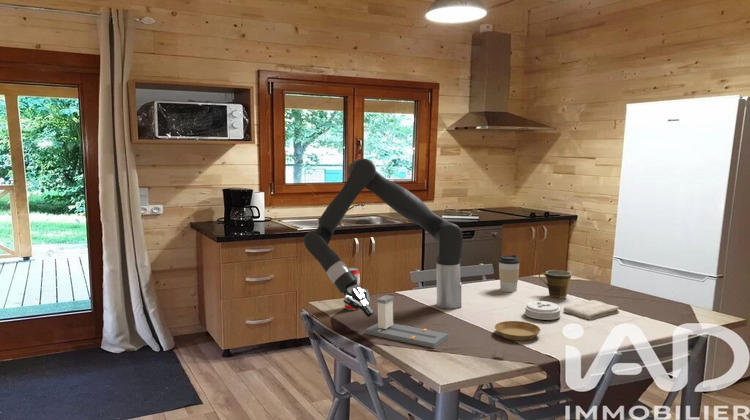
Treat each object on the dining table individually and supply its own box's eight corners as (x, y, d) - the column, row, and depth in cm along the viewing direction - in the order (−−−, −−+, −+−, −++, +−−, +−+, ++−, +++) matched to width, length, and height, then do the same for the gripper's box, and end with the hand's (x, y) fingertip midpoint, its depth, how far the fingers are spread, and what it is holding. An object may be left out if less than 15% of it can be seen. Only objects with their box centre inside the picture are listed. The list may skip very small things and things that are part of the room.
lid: (526, 321, 189) (526, 308, 188) (523, 310, 201) (523, 298, 201) (563, 323, 187) (563, 309, 186) (557, 312, 199) (557, 299, 198)
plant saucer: (490, 327, 183) (490, 320, 183) (533, 327, 183) (533, 320, 182) (499, 343, 168) (499, 335, 168) (545, 343, 168) (546, 335, 168)
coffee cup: (507, 293, 223) (508, 259, 222) (493, 289, 231) (493, 255, 230) (523, 290, 228) (524, 256, 226) (509, 286, 236) (509, 253, 234)
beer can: (361, 306, 210) (360, 267, 208) (359, 311, 204) (358, 270, 202) (345, 306, 211) (344, 266, 209) (343, 310, 204) (342, 270, 203)
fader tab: (377, 327, 179) (376, 299, 178) (385, 323, 183) (385, 295, 182) (385, 329, 177) (385, 300, 176) (393, 324, 182) (393, 296, 180)
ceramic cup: (573, 295, 220) (573, 271, 219) (567, 301, 212) (568, 276, 210) (541, 291, 227) (542, 268, 226) (535, 296, 218) (535, 273, 217)
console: (365, 333, 179) (365, 328, 179) (381, 325, 187) (381, 319, 187) (434, 348, 165) (434, 342, 165) (448, 338, 173) (447, 332, 173)
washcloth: (620, 313, 197) (621, 305, 196) (589, 322, 188) (590, 313, 187) (593, 305, 207) (593, 297, 207) (562, 313, 198) (562, 305, 197)
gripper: (336, 274, 181) (366, 314, 176) (358, 266, 192) (387, 304, 187) (324, 287, 184) (354, 327, 179) (346, 279, 195) (375, 316, 190)
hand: (371, 315), depth 183 cm, fingers closed
